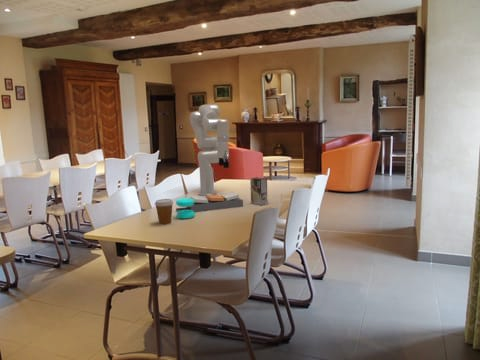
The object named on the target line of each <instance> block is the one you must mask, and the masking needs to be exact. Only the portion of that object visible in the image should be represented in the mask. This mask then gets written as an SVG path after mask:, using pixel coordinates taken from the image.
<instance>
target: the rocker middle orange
mask: <svg viewBox="0 0 480 360" xmlns="http://www.w3.org/2000/svg"><path fill="white" fill-rule="evenodd" d="M205 199H209V200H210V201H224V198H223V197H221V195H220V194H215V195H206V196H205Z"/></svg>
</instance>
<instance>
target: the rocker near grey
mask: <svg viewBox="0 0 480 360" xmlns="http://www.w3.org/2000/svg"><path fill="white" fill-rule="evenodd" d="M190 198H191V199H193V200H194V202H198V203H208V200H207V198H206V197H205V196H194V195H190Z"/></svg>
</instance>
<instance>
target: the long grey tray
mask: <svg viewBox="0 0 480 360" xmlns="http://www.w3.org/2000/svg"><path fill="white" fill-rule="evenodd" d="M206 199H207V198H206ZM207 200H208V203H198V202H194V204H193V205H191V206H188V207H176V209H175V211H176V212H179V211H181V210H192V211H194V213H199V212H207V211H215V210H223V209H233V208H238V207H239V208H240V207H244V200H243V199H242V198H240V197H239V198H235V199H232V200H228V201H226V200H224V201H210V200H209V199H207Z"/></svg>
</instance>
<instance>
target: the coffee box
mask: <svg viewBox="0 0 480 360" xmlns="http://www.w3.org/2000/svg"><path fill="white" fill-rule="evenodd" d="M250 202H251V205H252V204H253V205H260V206H263V205H266V204H267V205H268V178H266V177H258V176H257V177H256V176H255V177H251V178H250Z"/></svg>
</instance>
